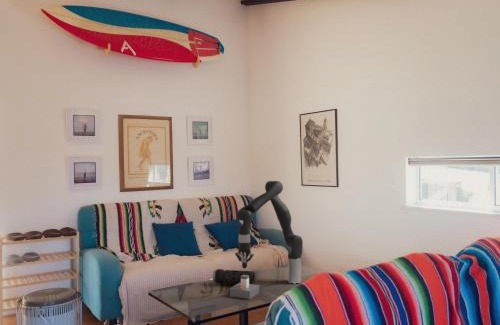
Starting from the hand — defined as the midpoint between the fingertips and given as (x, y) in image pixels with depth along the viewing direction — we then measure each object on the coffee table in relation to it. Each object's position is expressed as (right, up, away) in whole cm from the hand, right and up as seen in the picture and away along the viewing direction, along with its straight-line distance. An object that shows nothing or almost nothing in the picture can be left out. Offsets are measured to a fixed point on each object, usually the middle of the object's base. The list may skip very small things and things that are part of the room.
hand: (244, 268), depth 278 cm
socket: (0, -17, 0) cm, 17 cm away
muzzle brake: (-8, -17, +21) cm, 29 cm away
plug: (0, -16, 0) cm, 16 cm away
